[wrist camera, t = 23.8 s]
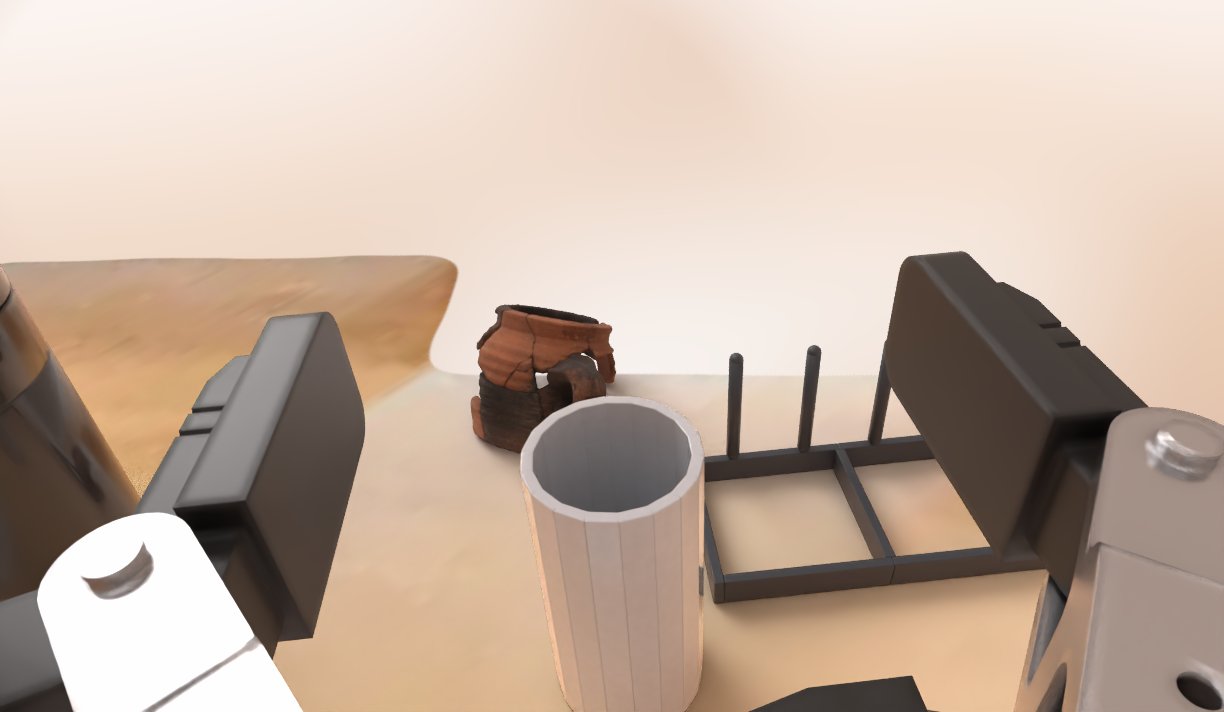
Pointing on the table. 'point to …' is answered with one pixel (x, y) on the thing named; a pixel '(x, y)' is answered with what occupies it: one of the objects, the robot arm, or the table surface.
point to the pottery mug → (537, 370)
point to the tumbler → (620, 551)
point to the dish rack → (842, 461)
